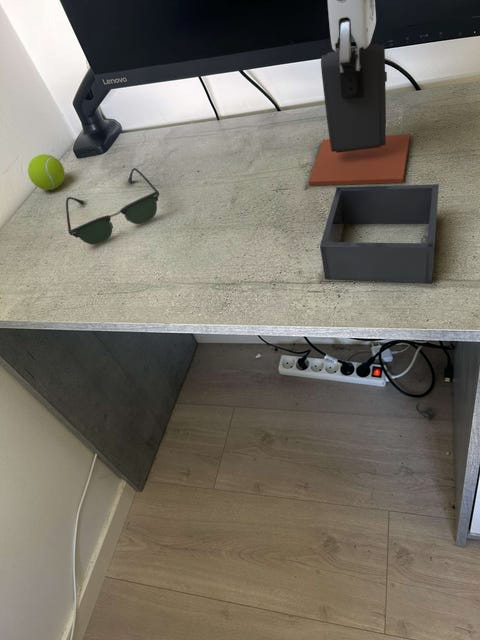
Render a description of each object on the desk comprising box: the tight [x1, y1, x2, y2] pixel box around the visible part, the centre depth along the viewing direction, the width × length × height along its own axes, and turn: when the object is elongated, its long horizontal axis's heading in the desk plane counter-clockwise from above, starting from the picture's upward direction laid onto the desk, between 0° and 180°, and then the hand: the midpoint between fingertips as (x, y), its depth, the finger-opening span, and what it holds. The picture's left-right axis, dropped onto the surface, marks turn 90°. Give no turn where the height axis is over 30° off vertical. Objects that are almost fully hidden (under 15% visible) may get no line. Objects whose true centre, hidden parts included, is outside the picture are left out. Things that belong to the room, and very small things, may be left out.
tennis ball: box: [27, 153, 66, 191], centre depth 101 cm, size 7×7×7 cm
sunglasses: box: [65, 167, 160, 246], centre depth 89 cm, size 16×17×5 cm
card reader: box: [320, 43, 388, 153], centre depth 76 cm, size 9×4×15 cm, turn 81°
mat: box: [308, 133, 411, 186], centre depth 83 cm, size 15×13×1 cm
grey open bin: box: [319, 183, 440, 284], centre depth 66 cm, size 14×13×6 cm
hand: (355, 88), depth 74 cm, fingers closed on card reader, 4 cm apart
